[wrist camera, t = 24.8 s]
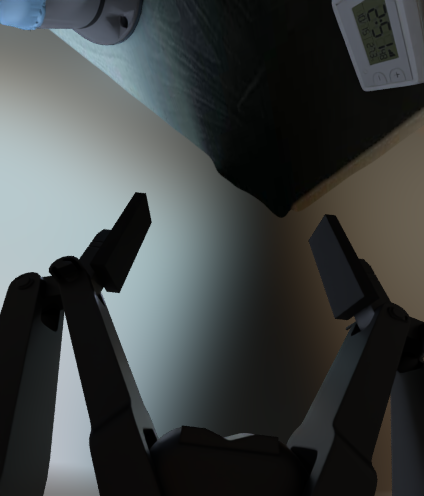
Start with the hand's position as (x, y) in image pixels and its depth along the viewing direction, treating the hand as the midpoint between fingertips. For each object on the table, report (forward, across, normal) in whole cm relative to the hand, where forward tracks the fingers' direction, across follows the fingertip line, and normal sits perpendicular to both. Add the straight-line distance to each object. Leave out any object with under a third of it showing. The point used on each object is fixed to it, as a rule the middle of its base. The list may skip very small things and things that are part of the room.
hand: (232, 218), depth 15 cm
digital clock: (+37, +19, +11) cm, 43 cm away
